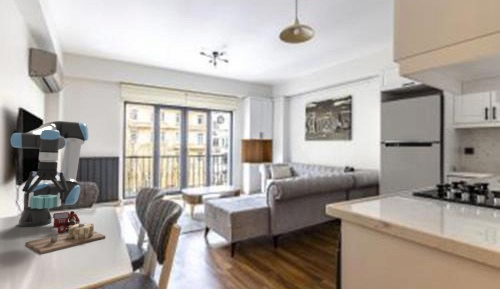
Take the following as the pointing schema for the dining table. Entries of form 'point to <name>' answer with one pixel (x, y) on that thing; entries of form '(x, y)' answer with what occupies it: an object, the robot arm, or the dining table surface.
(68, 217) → the toy fire truck
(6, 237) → the dining table surface
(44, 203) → the teal gear
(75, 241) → the gear board
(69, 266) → the dining table surface
